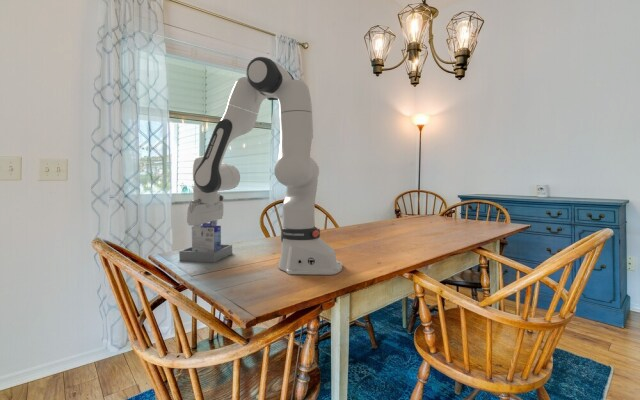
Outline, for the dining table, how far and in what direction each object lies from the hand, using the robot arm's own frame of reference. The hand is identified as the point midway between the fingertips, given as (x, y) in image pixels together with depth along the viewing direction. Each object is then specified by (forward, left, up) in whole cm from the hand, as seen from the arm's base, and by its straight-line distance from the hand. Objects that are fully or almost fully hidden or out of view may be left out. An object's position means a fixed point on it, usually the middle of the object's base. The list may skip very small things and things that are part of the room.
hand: (206, 233), depth 130 cm
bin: (0, 0, -9) cm, 9 cm away
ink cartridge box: (0, 0, -9) cm, 9 cm away
